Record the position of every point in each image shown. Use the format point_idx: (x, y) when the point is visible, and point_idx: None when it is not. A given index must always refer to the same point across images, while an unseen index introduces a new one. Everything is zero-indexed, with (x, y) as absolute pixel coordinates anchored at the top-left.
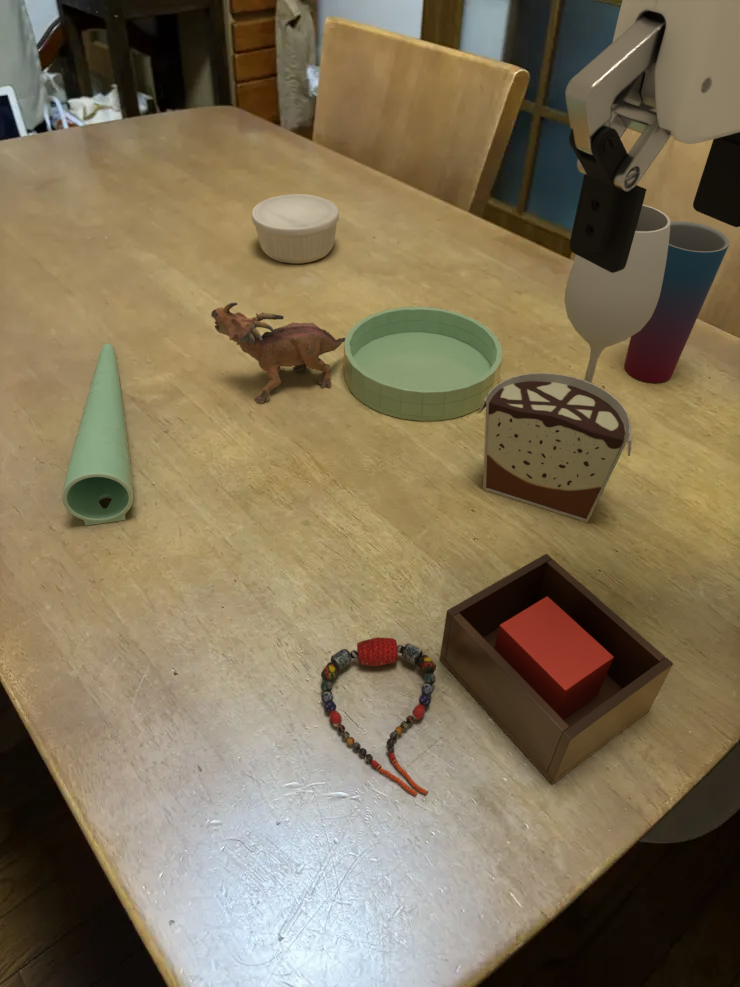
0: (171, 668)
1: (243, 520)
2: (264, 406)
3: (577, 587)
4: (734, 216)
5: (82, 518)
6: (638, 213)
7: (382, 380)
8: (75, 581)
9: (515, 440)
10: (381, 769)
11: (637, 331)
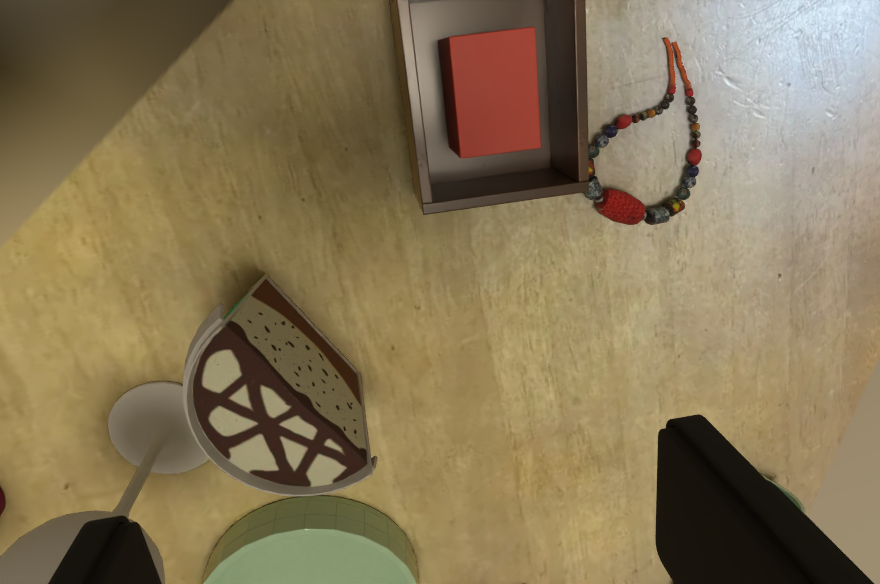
0: (779, 282)
1: (631, 427)
2: (522, 579)
3: (425, 147)
4: (130, 552)
5: (769, 480)
6: (780, 529)
7: (402, 571)
8: (799, 411)
9: (337, 403)
10: (689, 83)
11: (63, 516)
